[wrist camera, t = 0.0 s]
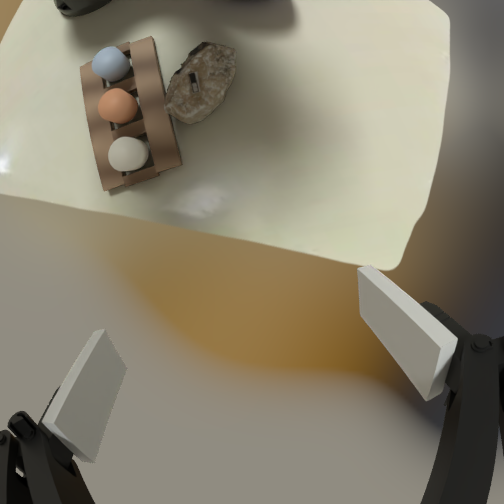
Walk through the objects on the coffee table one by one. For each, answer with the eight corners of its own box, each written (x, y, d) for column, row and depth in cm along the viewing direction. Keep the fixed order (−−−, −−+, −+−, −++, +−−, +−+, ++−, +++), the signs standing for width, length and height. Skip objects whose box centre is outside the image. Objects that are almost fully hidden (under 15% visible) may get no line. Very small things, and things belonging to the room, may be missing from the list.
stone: (164, 118, 34) (154, 110, 27) (195, 46, 31) (193, 26, 24) (211, 133, 36) (211, 127, 29) (242, 60, 33) (248, 42, 26)
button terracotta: (107, 101, 31) (95, 96, 27) (134, 90, 31) (125, 83, 27) (112, 128, 32) (101, 125, 28) (140, 117, 32) (131, 113, 28)
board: (83, 66, 29) (79, 64, 28) (153, 37, 29) (151, 33, 28) (108, 193, 37) (104, 194, 35) (183, 168, 37) (181, 168, 35)
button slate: (101, 62, 28) (90, 54, 25) (128, 51, 29) (119, 41, 25) (104, 86, 30) (93, 80, 26) (132, 74, 30) (122, 66, 26)
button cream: (116, 145, 33) (104, 144, 29) (144, 134, 33) (135, 131, 29) (123, 174, 34) (112, 176, 31) (151, 164, 35) (143, 164, 31)
